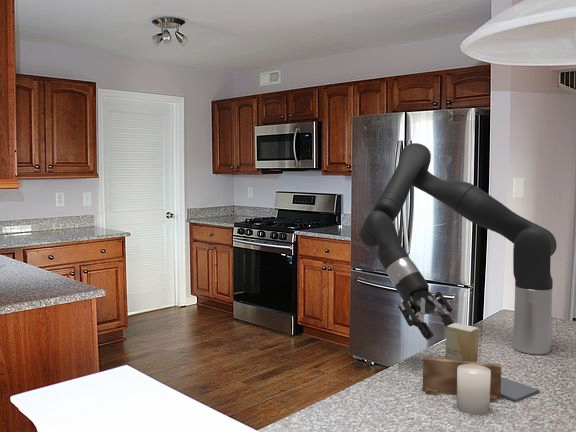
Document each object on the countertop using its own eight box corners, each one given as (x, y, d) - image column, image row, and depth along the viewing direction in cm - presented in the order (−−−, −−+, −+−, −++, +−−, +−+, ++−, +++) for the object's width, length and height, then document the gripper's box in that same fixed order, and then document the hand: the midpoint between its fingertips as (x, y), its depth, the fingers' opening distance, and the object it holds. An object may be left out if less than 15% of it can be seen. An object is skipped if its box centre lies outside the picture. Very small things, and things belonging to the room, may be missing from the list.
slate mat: (502, 379, 126) (502, 377, 126) (539, 392, 118) (539, 389, 118) (478, 388, 121) (478, 385, 120) (515, 402, 113) (515, 399, 113)
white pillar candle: (469, 398, 115) (470, 361, 114) (496, 409, 110) (497, 370, 109) (449, 406, 111) (450, 368, 111) (476, 417, 106) (477, 377, 106)
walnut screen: (422, 393, 118) (422, 361, 117) (423, 385, 123) (424, 354, 122) (501, 402, 113) (501, 369, 112) (499, 393, 118) (500, 362, 117)
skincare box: (443, 376, 128) (444, 325, 127) (452, 371, 131) (453, 321, 130) (469, 383, 123) (470, 330, 123) (478, 378, 127) (479, 327, 126)
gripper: (417, 282, 146) (451, 335, 138) (379, 291, 138) (413, 348, 130) (433, 266, 141) (470, 320, 133) (395, 274, 133) (431, 332, 125)
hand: (442, 334), depth 132 cm, fingers open, 8 cm apart
